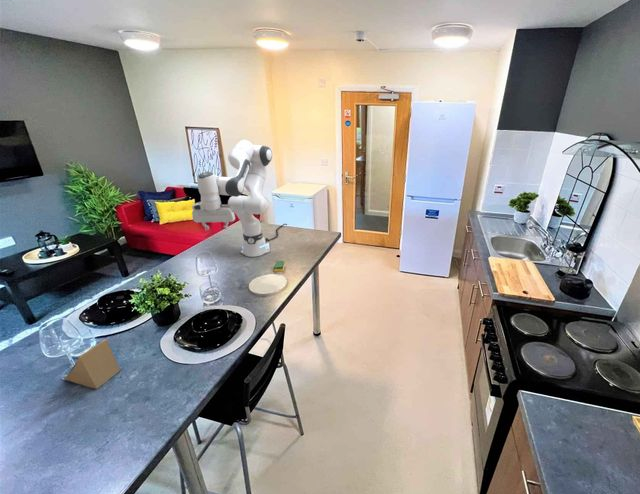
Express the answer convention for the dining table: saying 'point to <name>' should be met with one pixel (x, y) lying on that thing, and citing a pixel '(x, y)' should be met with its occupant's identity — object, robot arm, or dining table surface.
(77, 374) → the sandwich container
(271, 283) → the plate
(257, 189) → the robot arm
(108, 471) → the dining table surface
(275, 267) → the sponge
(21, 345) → the dining table surface
